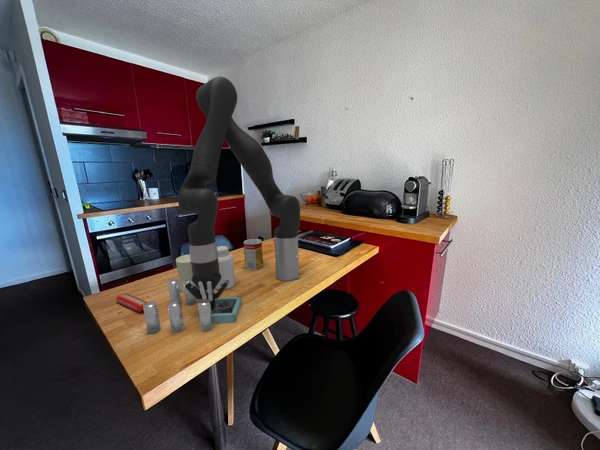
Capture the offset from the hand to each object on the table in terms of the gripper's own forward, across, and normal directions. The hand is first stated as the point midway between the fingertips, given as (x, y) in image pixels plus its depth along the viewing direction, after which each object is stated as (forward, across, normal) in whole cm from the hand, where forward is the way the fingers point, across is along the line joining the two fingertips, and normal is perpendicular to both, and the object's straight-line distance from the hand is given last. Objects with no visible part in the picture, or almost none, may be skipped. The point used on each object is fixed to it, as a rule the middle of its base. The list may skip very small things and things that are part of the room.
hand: (210, 310), depth 76 cm
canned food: (+1, -8, -36) cm, 37 cm away
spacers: (+1, +6, 0) cm, 7 cm away
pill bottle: (+1, 0, -19) cm, 19 cm away
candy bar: (+2, +27, -7) cm, 28 cm away
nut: (+1, -4, 0) cm, 5 cm away
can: (+2, +12, -19) cm, 23 cm away
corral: (+1, -4, 0) cm, 4 cm away
